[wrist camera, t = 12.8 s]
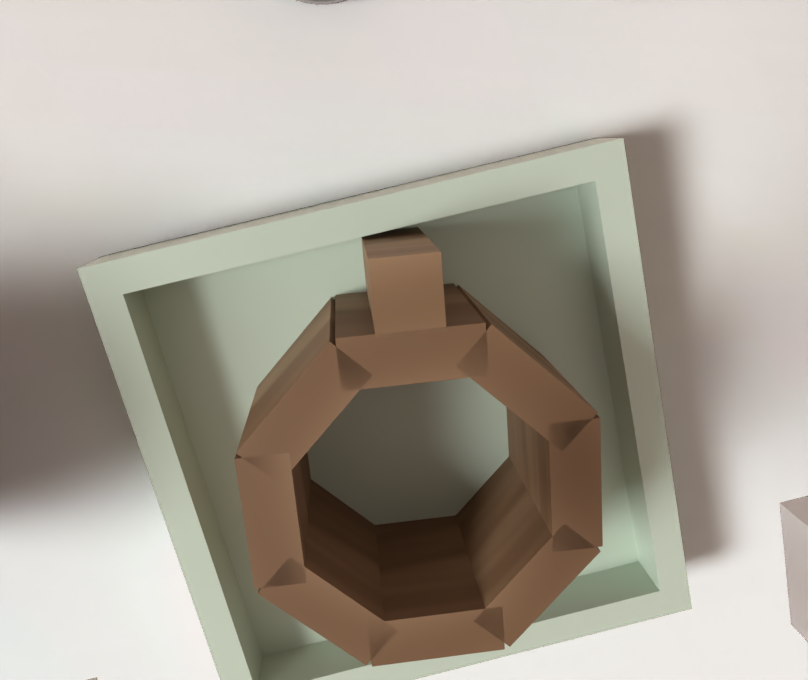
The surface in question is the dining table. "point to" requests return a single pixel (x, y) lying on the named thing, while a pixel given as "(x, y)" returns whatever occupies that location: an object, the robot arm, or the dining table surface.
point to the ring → (427, 538)
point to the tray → (398, 388)
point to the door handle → (321, 1)
